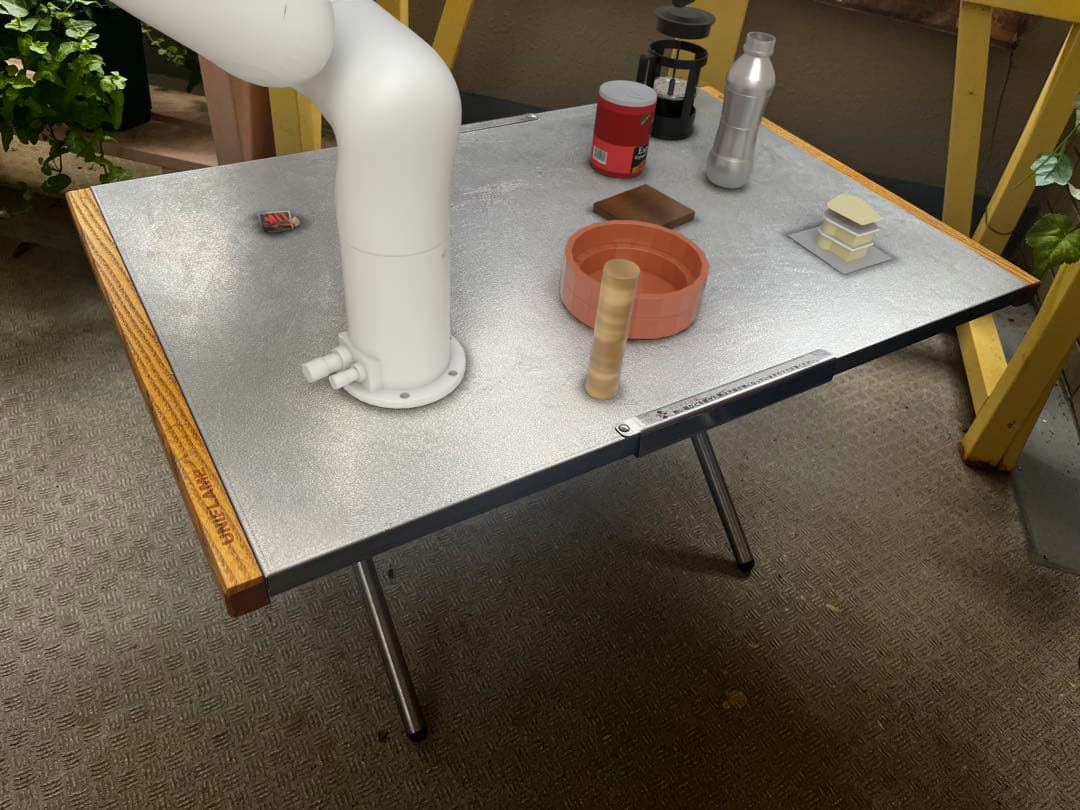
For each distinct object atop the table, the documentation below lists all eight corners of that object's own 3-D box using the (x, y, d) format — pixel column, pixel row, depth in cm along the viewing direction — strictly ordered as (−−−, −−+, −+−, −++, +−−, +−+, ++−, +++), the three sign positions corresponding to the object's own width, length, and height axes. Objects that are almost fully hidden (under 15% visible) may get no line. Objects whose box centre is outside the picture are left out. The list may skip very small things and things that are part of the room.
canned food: (641, 183, 113) (655, 105, 105) (585, 173, 113) (595, 96, 106) (646, 160, 118) (660, 85, 111) (593, 151, 119) (603, 76, 112)
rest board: (641, 241, 101) (643, 232, 100) (592, 211, 106) (593, 202, 105) (693, 219, 106) (695, 211, 105) (644, 191, 111) (646, 183, 110)
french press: (672, 111, 133) (702, -44, 117) (708, 134, 127) (744, -25, 111) (614, 121, 128) (637, -39, 112) (648, 145, 122) (678, -20, 107)
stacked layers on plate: (892, 258, 102) (909, 220, 99) (843, 274, 99) (859, 235, 95) (835, 222, 109) (849, 184, 105) (787, 235, 105) (799, 197, 101)
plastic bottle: (721, 197, 111) (759, 48, 98) (692, 176, 116) (725, 30, 102) (757, 189, 114) (798, 43, 100) (727, 169, 118) (763, 26, 105)
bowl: (629, 363, 82) (638, 316, 78) (531, 291, 91) (535, 245, 87) (725, 312, 91) (738, 267, 87) (627, 251, 99) (635, 207, 95)
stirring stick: (600, 404, 77) (622, 282, 68) (578, 386, 79) (596, 265, 70) (623, 391, 79) (648, 271, 70) (601, 374, 81) (622, 254, 71)
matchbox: (267, 236, 94) (266, 233, 94) (251, 217, 97) (250, 213, 97) (304, 227, 97) (304, 223, 96) (288, 208, 100) (287, 205, 99)
